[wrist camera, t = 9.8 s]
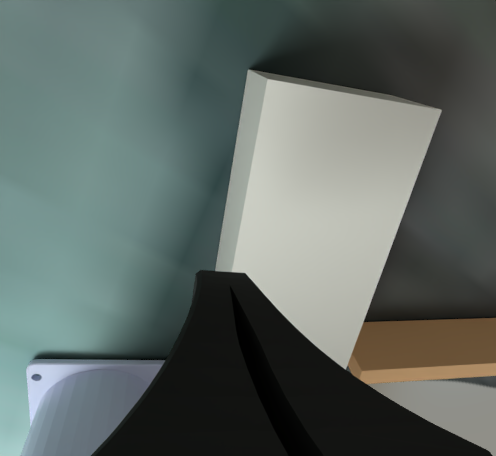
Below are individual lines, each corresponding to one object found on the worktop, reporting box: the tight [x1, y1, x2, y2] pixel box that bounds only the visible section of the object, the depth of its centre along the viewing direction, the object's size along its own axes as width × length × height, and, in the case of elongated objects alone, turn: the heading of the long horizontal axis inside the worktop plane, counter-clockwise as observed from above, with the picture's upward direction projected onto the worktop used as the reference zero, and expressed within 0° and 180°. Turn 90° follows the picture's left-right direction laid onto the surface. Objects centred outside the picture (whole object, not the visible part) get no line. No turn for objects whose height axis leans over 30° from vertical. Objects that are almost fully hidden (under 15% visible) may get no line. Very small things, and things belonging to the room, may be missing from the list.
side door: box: [348, 318, 496, 384], centre depth 23 cm, size 14×2×7 cm, turn 84°
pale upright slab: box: [215, 69, 442, 370], centre depth 19 cm, size 15×7×4 cm, turn 170°
